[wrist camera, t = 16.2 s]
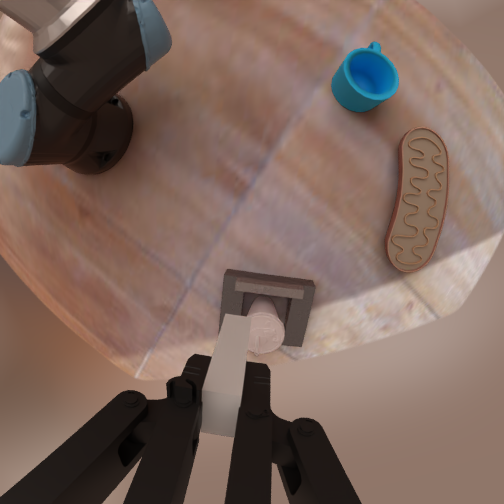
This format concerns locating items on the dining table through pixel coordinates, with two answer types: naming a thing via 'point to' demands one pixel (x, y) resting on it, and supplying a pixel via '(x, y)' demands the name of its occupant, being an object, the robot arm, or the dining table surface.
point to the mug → (365, 79)
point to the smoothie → (264, 327)
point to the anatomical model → (418, 200)
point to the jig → (266, 284)
